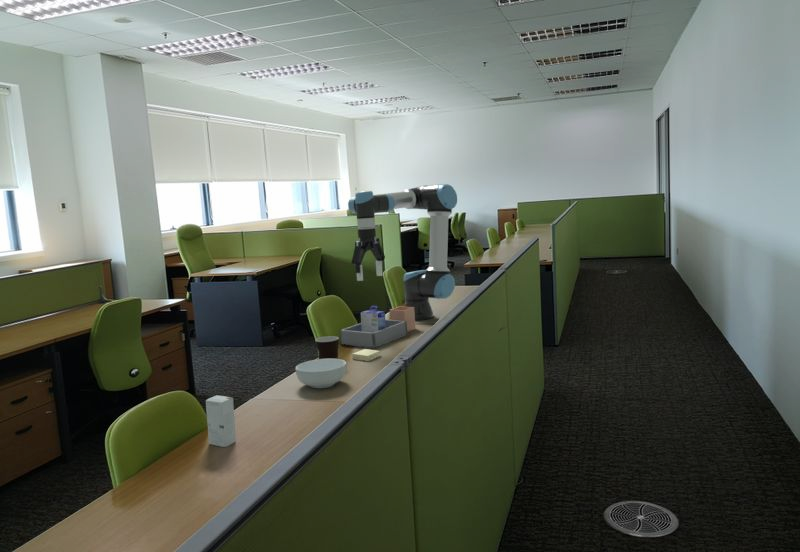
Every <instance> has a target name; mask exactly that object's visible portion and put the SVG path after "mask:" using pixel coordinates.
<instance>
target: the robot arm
mask: <svg viewBox="0 0 800 552" xmlns="http://www.w3.org/2000/svg"><path fill="white" fill-rule="evenodd" d="M457 203H458V194H457V191H456V190H455V189H454V187H453V186H452V185H451V184H447V183H439V184H429V185H428V184H427V185H420V186H417V187H412V188H406V189H404V190H403V191H397V192H389V193H379V194H374V191H373V190H367V191H357V192H355V196H352V197H350V199H349V200H348V203H347V206H348V211H350V212H351V213H352V214H356V222H357V223H356V224H357V228H358V229H357V237H358V239H360V240H356V241H354V250H353V254H352V258H351V259H352V260H351V265H353V266H355V273H356V281H357V282H361V281H362V282H363V281H364V273H363V264H362V262H363V260H364V257H365V256H366V255H365V254H366V253H367V252H368V251H371V254H372V255H373V256H374V258H375V259H376V260H375V269H376V270H375V272H376V273H375V274H376V276H377V277H383V276H384V274H383V261H384V260H385V259H386V256H385V255H386V254H385V253H384V250H383V248H382V245H381V243H380V238H379V237H376V236H377V233H376V231H377V230H376V228H375V227H376V219H375V214H380V213H383V214H384V213H388V212H389V213H390V212H392V211H393V210H397V209H406V210H412V209H413V210H426V212H427V214H428V216H430V221H429V222H430V223H429V253H428V254H429V256H428V260H429V261H428V267H427V268H426V269H421V270H414V271H409V272H406V273H404V274H403V291H404V300H405V301H404V302H405V303H404V306H403V307H414V312H415V321H422V320H428V319H432V318H434V311H433V309H432V306H431V303H430V300H429V298H431V299H437V300H440V299H445V300H446V299H447V298H450V296H452V294H453V293H454V291H455V288H456V287H455V286H456V282H455V281H456V280H455V279H454V278H455V277H454V276H453V275H452V274H451V270H450V269H449V267H448V248H449V247H448V246H449V245H448V243H449V239H448V238H449V216H451V214H452V213H453V209H455V208H456V205H457Z"/></svg>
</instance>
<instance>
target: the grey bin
mask: <svg viewBox="0 0 800 552" xmlns="http://www.w3.org/2000/svg"><path fill="white" fill-rule="evenodd" d="M385 322H386V328H385V329H382V330H379V331H377V332H374V333H370V332H362V327H361V322H360V323H357V324H354V325H352V326H349V327H345V328H342V329H340V330H339V341H340V345H344V344H345V345H344V346H346V345H347V346H353V347H354V346H355V347H362V346H364V348H371V347H373V349H376V348H378V347H380V345H381V346H383V345H385V343H386V344H388V343H390V341H391V342H392V340H393V341H395V339H396V340H398V339H401V338H402V337H405V336H408V332H407V321H396V320H390V319H385ZM387 342H388V343H387ZM382 344H383V345H382ZM377 346H378V347H377ZM375 347H376V348H375Z"/></svg>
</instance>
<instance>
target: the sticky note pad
mask: <svg viewBox="0 0 800 552" xmlns="http://www.w3.org/2000/svg"><path fill="white" fill-rule="evenodd" d="M351 355H352V356H351V357H352V359H353V360H357V361H363V360H365V362H369V360H370V361H372V360H375V359H377V358H379V357H381V350H375V349H369V348H363V349H361V350H358V351H355V352H353V353H352V354H351ZM378 356H379V357H378ZM376 357H377V358H376ZM374 358H375V359H374Z"/></svg>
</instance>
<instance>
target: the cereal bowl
mask: <svg viewBox="0 0 800 552" xmlns="http://www.w3.org/2000/svg"><path fill="white" fill-rule="evenodd" d="M347 368H348V366H347V362H346V360H344V359H340V358H338V359H332V358H327V359H319V358H317V359H313V360H308V361H304V362H301V363H299V364H297V365H296V366H295V373H296V374H295V375H296V377H297V379H298V380H299V382H300V383H301V384H303V385H306V386H310V387H311V388H313V389H326V388H327V389H328V388H331V387H333V386H334V385H335V384H336V383H338V382H340V381H342V380H343V378H345V377H346V374H347Z"/></svg>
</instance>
